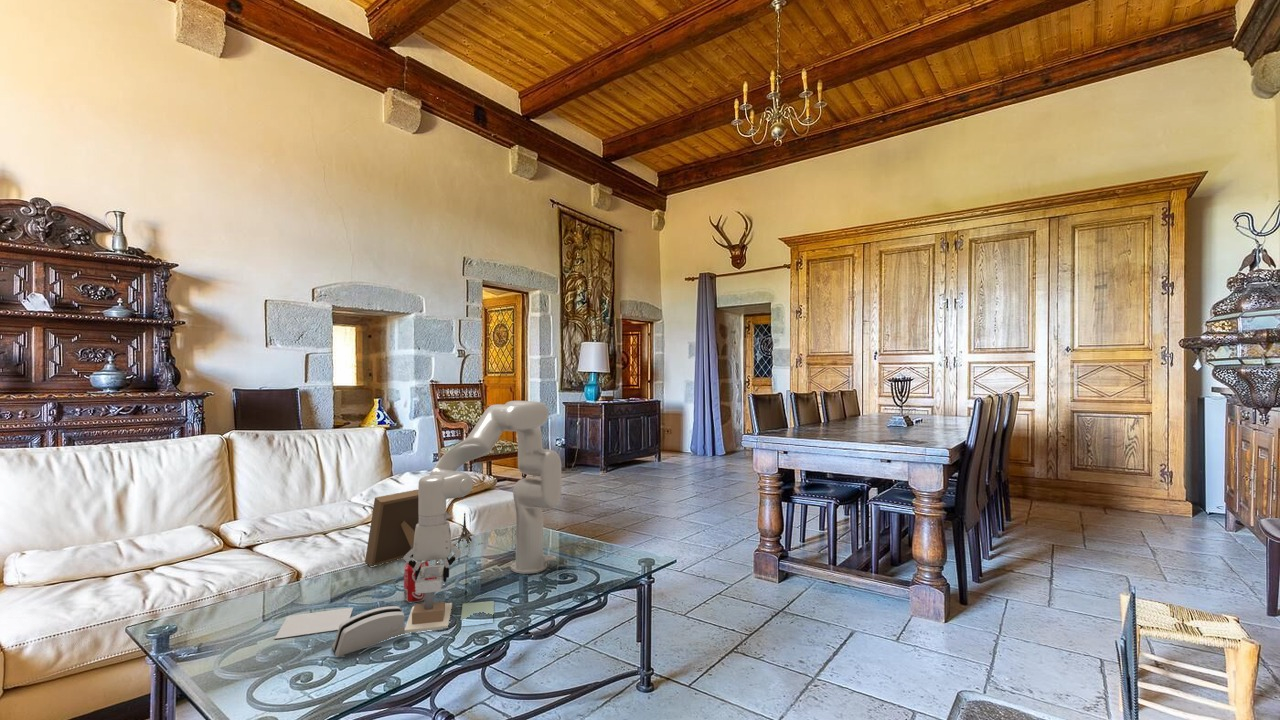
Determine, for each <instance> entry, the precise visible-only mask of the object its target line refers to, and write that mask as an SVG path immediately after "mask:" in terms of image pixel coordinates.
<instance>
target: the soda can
mask: <svg viewBox="0 0 1280 720" xmlns="http://www.w3.org/2000/svg"><path fill="white" fill-rule="evenodd" d="M410 558H411V559H413V560H414V558H413V557H410ZM414 561H415V562H417V561H416V560H414ZM428 562H429V561H427V560H426V561H422V562H421V564H420V566H421V567H423V566H430V565H429V563H428ZM403 570H404V571H403V598H404V599H403V600H405V601H406V602H408V603H409V602H418V603H420V602H419V601H421V602H423V601H424V593H419V594H416V581H415V570H414V568H412V567H411V566H410V565H409V564H408V563H407V562H406V564H405V566H404V569H403ZM425 580H429V578H425ZM422 600H423V601H422Z"/></svg>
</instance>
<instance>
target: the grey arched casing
mask: <svg viewBox="0 0 1280 720" xmlns="http://www.w3.org/2000/svg"><path fill="white" fill-rule="evenodd" d="M404 629H405V613H404V611H403V610H402V608H401V607H400V606H399V605H398V606H397V605H393V606H392V605H390V606H382V607H378V608H377V607H376V608H373V609H370V610H367V611H366V610H365V611H363V612H361V613H358V614H357V615H354V616H351V617H350V619H348V620H346V621H344V622H342V623H341V624H340V626H339V629H338V630H337V632H336V636H335V640H334V641H333V643H332V645H331V650H332V651H335V652H334V655H335V656H336V657H337V658H338V657H341V656H344V655H347V654H351V653H354V652H356V651H360V650H361V649H362V650H363V649H365V648H368V647H371V645H372V646H374V644H375V645H377V643H378V644H380V643H379V642H381V641H384V640H387V639H389V638H391V637H395V636H398V635H401V634H404ZM387 641H388V640H387ZM384 642H385V641H384ZM381 643H382V642H381Z"/></svg>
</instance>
